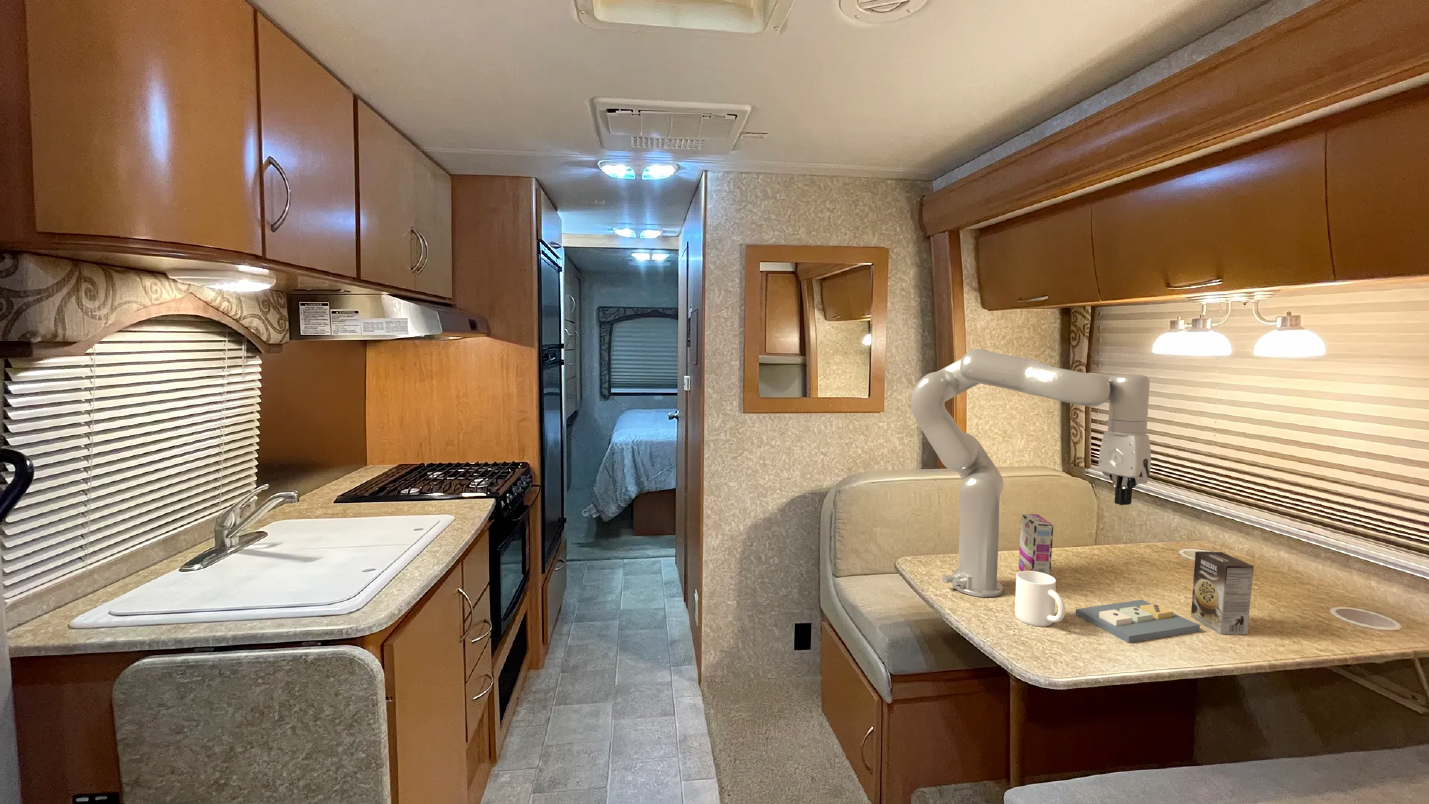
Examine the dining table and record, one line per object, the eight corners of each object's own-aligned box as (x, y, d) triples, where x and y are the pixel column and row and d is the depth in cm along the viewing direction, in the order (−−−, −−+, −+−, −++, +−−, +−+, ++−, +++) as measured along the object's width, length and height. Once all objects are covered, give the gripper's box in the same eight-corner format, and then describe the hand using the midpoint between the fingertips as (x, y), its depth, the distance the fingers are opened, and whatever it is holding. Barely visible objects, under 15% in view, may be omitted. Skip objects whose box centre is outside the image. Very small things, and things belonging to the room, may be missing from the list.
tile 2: (1136, 626, 138) (1137, 616, 137) (1119, 617, 142) (1119, 607, 142) (1152, 623, 139) (1153, 613, 138) (1134, 615, 143) (1135, 605, 143)
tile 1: (1115, 629, 136) (1116, 619, 136) (1098, 620, 140) (1099, 610, 140) (1131, 627, 137) (1132, 616, 137) (1114, 618, 142) (1114, 608, 141)
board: (1128, 642, 131) (1129, 636, 131) (1075, 615, 145) (1075, 609, 144) (1199, 631, 136) (1199, 624, 136) (1141, 605, 150) (1141, 599, 149)
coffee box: (1189, 616, 143) (1193, 550, 142) (1216, 616, 143) (1221, 550, 142) (1219, 635, 134) (1225, 565, 133) (1249, 635, 134) (1255, 565, 133)
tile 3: (1157, 623, 139) (1158, 613, 139) (1139, 614, 143) (1140, 605, 143) (1172, 620, 140) (1173, 610, 140) (1154, 612, 144) (1155, 602, 144)
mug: (1076, 631, 137) (1078, 587, 136) (1048, 637, 134) (1050, 592, 133) (1033, 609, 148) (1035, 568, 147) (1006, 614, 145) (1008, 573, 144)
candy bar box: (1051, 584, 163) (1054, 525, 162) (1031, 583, 164) (1034, 524, 162) (1036, 568, 174) (1038, 513, 173) (1017, 568, 175) (1020, 512, 173)
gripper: (1087, 423, 147) (1083, 497, 149) (1144, 432, 133) (1139, 513, 134) (1111, 422, 149) (1107, 495, 151) (1171, 430, 134) (1165, 511, 136)
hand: (1122, 503), depth 143 cm, fingers closed
